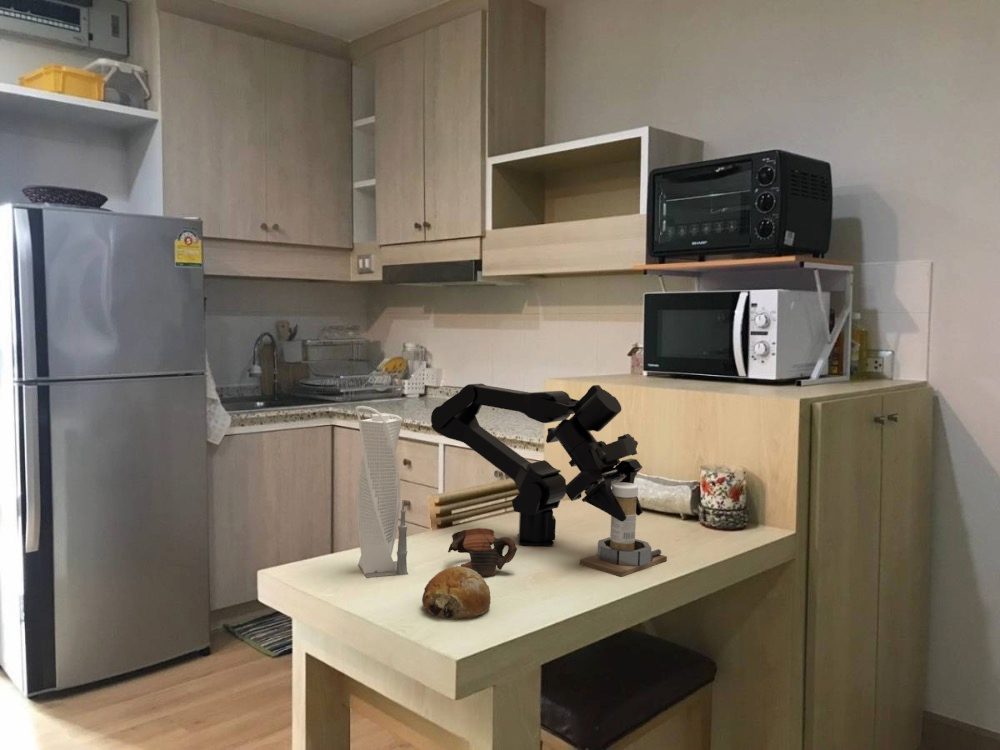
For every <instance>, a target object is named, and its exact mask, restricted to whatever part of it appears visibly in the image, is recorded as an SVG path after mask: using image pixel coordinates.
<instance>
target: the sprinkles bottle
mask: <svg viewBox="0 0 1000 750" xmlns="http://www.w3.org/2000/svg"><path fill="white" fill-rule="evenodd" d="M611 489H612V493H613V495H614V496H615V498H616V500H617V501H618V503H619V505H620V506H621V508H622V510H623V512H624V514H625V516H626V520H624V521H623V522H621V521H620V520H618V519H616V518H614V517H613V516H611V515H610V518H611V519H610V534H609V535H610V536H609V537H610V540H611V542H610V547H612V548H615V549H619V550H634V542H635V539H636V525H637V515H636V499H637V497H638V495H639V492H638V491H639V487H638V485H637V484H635V483H634V484H632V483H625V482H619V483H614V484H613V485H612V487H611Z"/></svg>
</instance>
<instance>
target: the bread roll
mask: <svg viewBox="0 0 1000 750" xmlns="http://www.w3.org/2000/svg"><path fill="white" fill-rule="evenodd" d="M421 602H422V606H423V608H424V609H425V611H426V612H427V613H428V614H431V615H432V616H434V617H437V618H439V619H447V620H464V619H474V618H476V617H478V616H482V615H483V614H485V613H486V612H488V611H489V610H490V606H491V590H490V586H489V585H488V584H487V582H486V580H485V579H484V577H483V576H481V575H480V574H478V573H477V572H476V571H474V570H472V569H470V568H466V567H461V565H455V566H449V567H447V568H445V569H442V570H441V571H439V572H438V573H436V574H435V575H434V576H432V578H431V579H430V580H428V583H427V584H426V585H425V587H424V592H423V593H422V600H421Z"/></svg>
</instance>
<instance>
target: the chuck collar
mask: <svg viewBox="0 0 1000 750" xmlns="http://www.w3.org/2000/svg"><path fill="white" fill-rule="evenodd" d="M610 542H611V540H610V536H609V537H606V538H602V539H599V540H598V541H597V554H598V557H599V559H600V560H601V561H604V562H607V563H611V564H614V565H619V566H641V565H644V564H646V563H649V562H651V561H652V560H653V557H654V556H657V555H662V550H661V549H660V548H658V549H655V550H652V546H651V545H650V543H649V542H647V541H644V540H641V539H638V538H635V542H634V550H619V549H615V548H612V547H610Z"/></svg>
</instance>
